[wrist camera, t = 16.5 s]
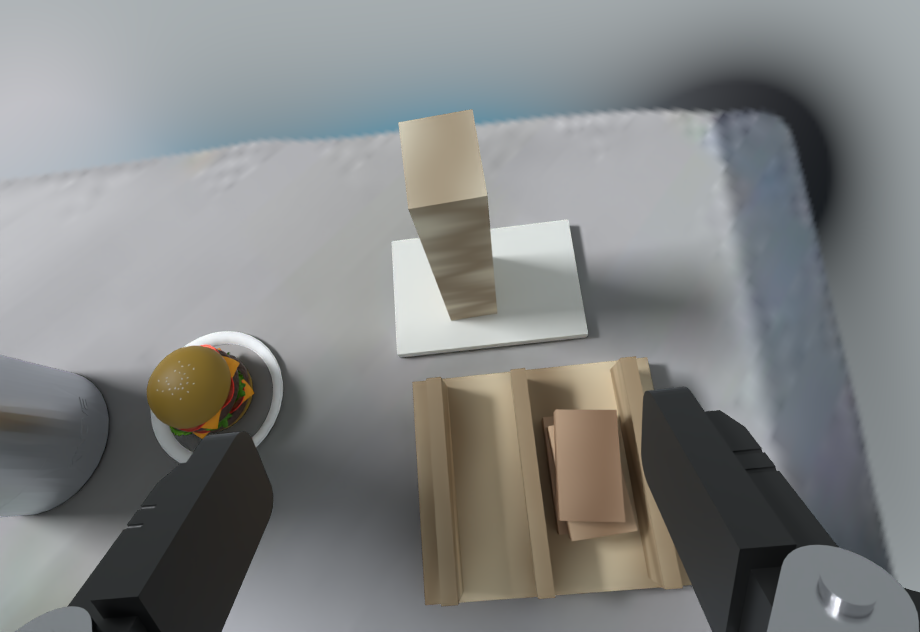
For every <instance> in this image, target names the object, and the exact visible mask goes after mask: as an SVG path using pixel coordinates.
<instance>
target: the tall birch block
mask: <svg viewBox="0 0 920 632" xmlns="http://www.w3.org/2000/svg"><path fill="white" fill-rule="evenodd" d="M399 131H400V140H401V148H402V157H403V166H404V174H405V183H406V192H407V200H408V209H409V212H410V214H411V217H412V220H413V222H414V225H415V228H416V230H417V233H418V235H419V238H420V241H421V243H422V246H423V249H424V251H425V254H426V256H427V259H428V262H429V264H430V267H431V270H432V272H433V275H434V277H435V280H436V283H437V285H438V288H439V291H440V293H441V296H442V298H443V301H444V304H445V306H446V309H447V312H448V314H449V317H450V319H451V321H452V320H459V319H465V318H471V317H478V316H484V315H490V314H497V303H496V291H495V279H494V268H493V256H492V244H491V232H490V220H489V209H488V197H487V191H486V185H485V179H484V173H483V168H482V162H481V156H480V150H479V145H478V139H477V133H476V128H475V122H474V116H473V111H472V109H471V110H465V111H460V112H454V113H449V114H443V115H438V116H432V117H427V118H421V119H416V120H410V121H405V122H399Z"/></svg>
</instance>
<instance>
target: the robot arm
mask: <svg viewBox="0 0 920 632" xmlns="http://www.w3.org/2000/svg"><path fill="white" fill-rule="evenodd" d="M108 426H109V417H108V412H107V406H106V403H105V401H104V399H103V396H102V394H101V393H100V391H99V390H98V389H97V388H96V386H95V385H94V384H93V383H92V382H90V381H89V380H88V379H86V378H85V377H83V376H80V375H78V374H75V373H72V372H68V371H64V370H60V369H56V368H51V367H47V366H43V365H39V364H35V363H31V362H27V361H23V360H20V359H16V358H12V357H7V356H3V355H0V517H8V516H21V515H33V514H38V513H41V512H45V511H48V510H51V509H52V508H54V507H56V506H58V505H60V504H62V503H63V502H65V501H66V500H68V499H69V498H70V497H71V496H73V495H74V494H75V493H76V492H78V490H79V489H80V488H81V487H82V486H83V485H84V484H85V483H86V481H87V480H88V479H89V478H90V476H91V475H92V473H93V472H94V470H95V468H96V467H97V465H98V464H99V461H100V459H101V456H102V454H103V452H104V449H105V445H106V441H107V437H108ZM641 459H642V466H643V471H644V475H645V478H646V481H647V484H648V486H649V488H650V491H651V493H652V495H653V498H654V500H655V502H656V504H657V507H658V509H659V511H660V514H661V516H662V518H663V520H664V523H665V525H666V527H667V529H668V532H669V534H670V536H671V539H672V541H673V543H674V545H675V548H676V550H677V552H678V555H679V557H680V559H681V561H682V564H683V566H684V568H685V570H686V573H687V575H688V577H689V580H690V582H691V584H692V586H693V589H694V591H695V593H696V596H697V598H698V600H699V602H700V605H701V607H702V609H703V611H704V614H705V616H706V618H707V621H708V623H709V625H710V627H711V630H712V632H920V592H916V591H912V590H909V589H906V588H903V587H902V585H901V584H900V583H899V582H898V581H897V580H896V579H895V578H894V577H893V576H891V575H890V574H889V573H888V572H886V571H885V570H884V569H883V568H881V567H880V566H878V565H876V564H875V563H873V562H872V561H870V560H868V559H866V558H864V557H862V556H860V555H858V554H856V553H853V552H851V551H848V550H845V549H842V548H839V547H838V546H837V545H836V543H835V542H834V541H833V540H832V538H831V537H830V536H829V535H828V533H827V532H826V531H825V529H824V528H823V527H822V526H821V524H820V523H819V522H818V520H817V519H816V518H815V517H814V515H813V514H812V513H811V511H810V510H809V509H808V508H807V506H806V505H805V504H804V502H803V501H802V500H801V499H800V497H799V496H798V495H797V493H796V492H795V491H794V489H793V488H792V487H791V486H790V484H789V483H788V482H787V480H786V479H785V478H784V477H783V475H782V474H781V473H780V471H776V468H775V465H774V464H773V462H772V461H771V460H770V459H769V457H768V456H767V455H766V453H763V452H762V450H761V447H760V446H759V444H758V443H757V442H756V441H755V439H754V438H753V437H752V435H751V434H750V433H749V431H748V430H747V429H746V428H745V427H744V426H743V425H741V424H740V423H738V422H737V421H735V420H734V419H732V418H731V417H729V416H728V415H726V414H725V413H723V412H722V411H720V410H717V411H707V412H705V411H704V410H703V408H702V407H701V406H700V404H699V403H698V401H697V400H696V398H695V397H694V396H693V394H692V393H691V391H690V390H689V389H688V388H687V387H677V388H668V389H658V390H649V391H645V393H644V396H643V409H642V435H641ZM272 508H273V491H272V487H271V484H270V481H269V479H268V476H267V474H266V471H265V469H264V466H263V464H262V461H261V459H260V457H259V454H258V452H257V449H256V447H255V444H254V442H253V439H252V437H251V436H250V435H249V434H248V433H247V432H244V431H243V432H234V433H224V434H214V435H208V436H206V437H204V438H203V439H202V440H201V442H200V443H199V445H198V446H197V447H196V449H195V450H194V452H193V453H192V455H191V456H190V458H189V459H188V460H187V462H186V463H181V464H180V465H178V466H177V467H176V468H175V469H174V470H173V471H171V472H170V473H169V474H168V475H167V476H166V477H164V478H163V479H162V480H161V481H160V482H158V483H157V485H156V486H155V487H154V489H153V490H152V491H151V493H150V494H149V496H148V497H147V498H146V500H145V501H144V502H143V504H142V505H141V510H138V511H137V512H136V513H135V515H134V516H133V518H132V519H131V520H130V522H129V523H128V524H127V525H128V528H127V529H126V530H123V531H122V533H121V534H120V535H119V537H118V538H117V540H116V541H115V542H114V544H113V545H112V546H111V548H110V549H109V550H108V552H107V553H106V555H105V556H104V557H103V559H102V560H101V561H100V563H99V564H98V566H97V567H96V568H95V570H94V571H93V572H92V574H91V575H90V577H89V578H88V579H87V581H86V582H85V583H84V585H83V586H82V588H81V589H80V590H79V592H78V593H77V594H76V596H75V597H74V599H73V600H72V601H71V603H70V604H69V605H68V606H67V607H62V608H59V609H55V610H52V611H50V612H47V613H45V614H43V615H41V616H39V617H37V618H35V619H33V620H32V621H30V622H28V623H27V624H25V625H24V626H22V627H21V628H19V629H18V630H17V631H15V632H222V629H223V627H224V625H225V622H226V620H227V618H228V615H229V613H230V611H231V608H232V606H233V603H234V601H235V599H236V596H237V594H238V592H239V589H240V587H241V585H242V582H243V580H244V578H245V575H246V573H247V571H248V568H249V566H250V564H251V561H252V559H253V556H254V554H255V552H256V549H257V547H258V545H259V542H260V540H261V538H262V535H263V533H264V531H265V528H266V526H267V524H268V521H269V519H270V516H271V513H272Z"/></svg>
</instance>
